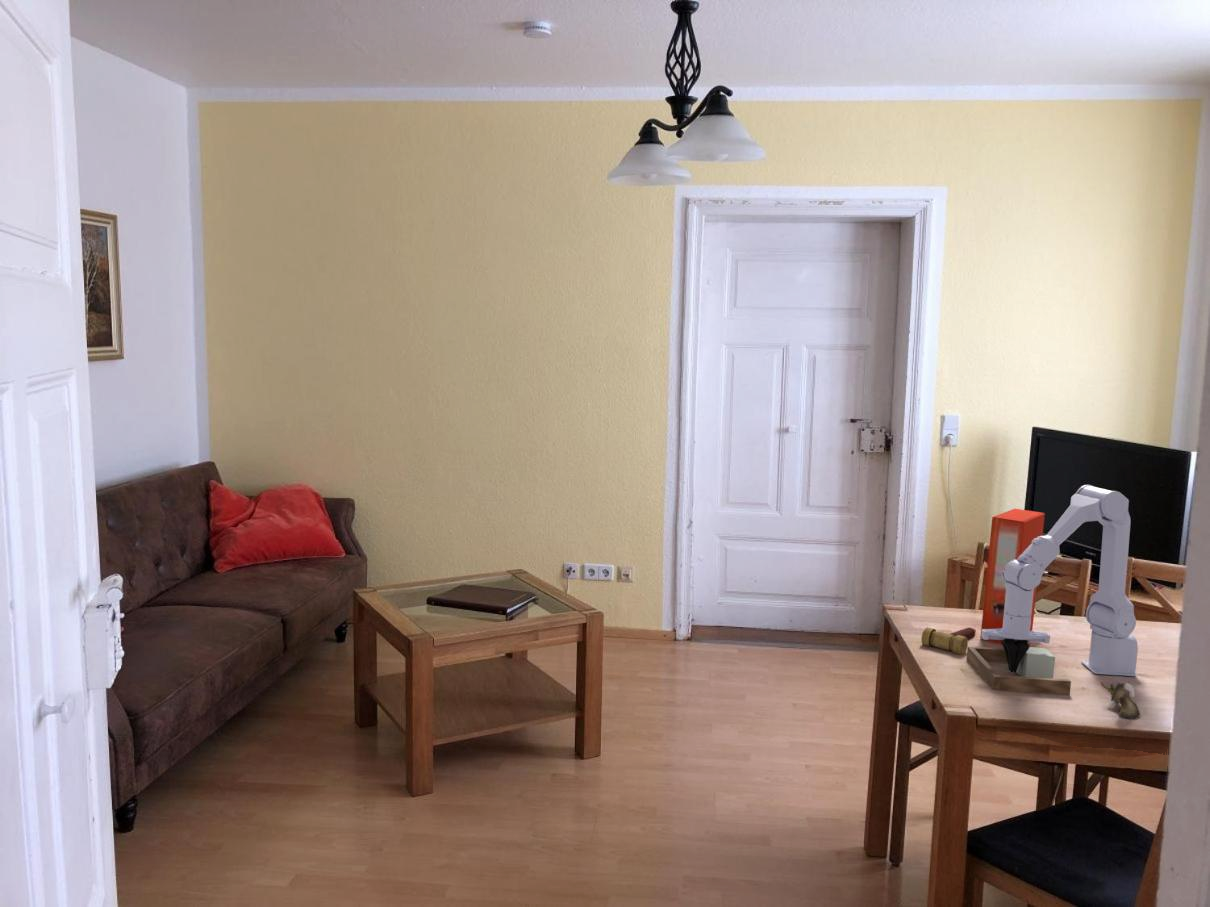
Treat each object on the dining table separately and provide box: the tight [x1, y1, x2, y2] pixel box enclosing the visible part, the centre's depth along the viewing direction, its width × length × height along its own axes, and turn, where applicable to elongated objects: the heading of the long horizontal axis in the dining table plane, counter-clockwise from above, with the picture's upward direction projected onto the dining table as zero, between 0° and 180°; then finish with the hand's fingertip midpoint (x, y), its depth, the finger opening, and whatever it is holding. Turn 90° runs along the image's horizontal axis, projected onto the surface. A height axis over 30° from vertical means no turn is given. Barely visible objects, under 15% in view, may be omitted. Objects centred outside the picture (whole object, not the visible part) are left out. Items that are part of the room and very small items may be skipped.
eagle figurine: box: [1099, 680, 1141, 721], centre depth 201 cm, size 8×7×9 cm
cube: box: [1016, 646, 1056, 678], centre depth 220 cm, size 6×6×6 cm
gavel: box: [920, 627, 977, 655], centre depth 244 cm, size 21×5×10 cm
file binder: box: [979, 508, 1046, 645], centre depth 248 cm, size 8×17×32 cm, turn 140°
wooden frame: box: [966, 646, 1072, 695], centre depth 220 cm, size 16×20×3 cm
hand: (1012, 671), depth 220 cm, fingers closed
